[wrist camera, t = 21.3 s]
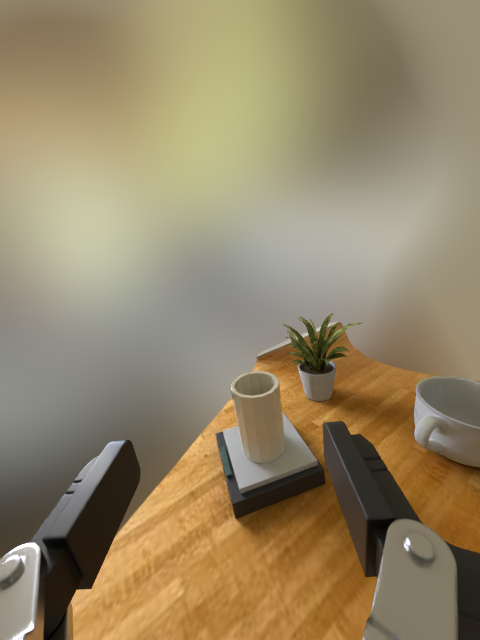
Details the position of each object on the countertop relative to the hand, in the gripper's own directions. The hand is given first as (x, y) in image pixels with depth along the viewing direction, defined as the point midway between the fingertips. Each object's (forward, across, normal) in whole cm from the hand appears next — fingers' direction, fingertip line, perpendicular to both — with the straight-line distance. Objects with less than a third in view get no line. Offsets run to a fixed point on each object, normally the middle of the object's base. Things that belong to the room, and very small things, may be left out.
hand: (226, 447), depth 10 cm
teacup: (+19, -26, +23) cm, 39 cm away
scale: (+20, -1, +23) cm, 30 cm away
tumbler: (+20, -1, +20) cm, 28 cm away
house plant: (+35, -14, +23) cm, 44 cm away
